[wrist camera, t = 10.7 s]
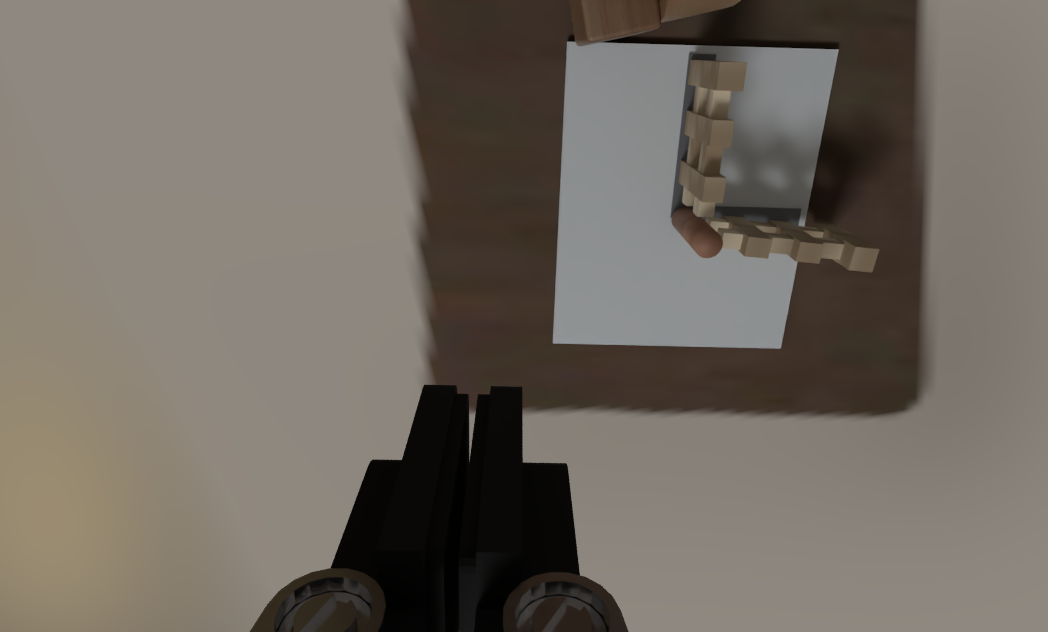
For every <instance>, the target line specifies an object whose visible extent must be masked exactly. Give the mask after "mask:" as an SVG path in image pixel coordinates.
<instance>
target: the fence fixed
mask: <svg viewBox="0 0 1048 632" xmlns="http://www.w3.org/2000/svg"><path fill="white" fill-rule="evenodd" d="M746 68H747V62H730V61H712V60H691V61H690V70H689V78H688V85H693V86H696V88H695V97H694V105H693V111H687V112H686V121H685V129H684V134H685V135H687V136H689V137H690V139H689V147H688V155H687V160H681V164H680V172H679V181H678V182H679V183H680V184H681V185H682V186H683V187H684V189H683V197H682V203H684V204H685V205H686V206H693V213H694V214H695V215H696V216H697V217H714V211H715V203H723V198H724V191H725V184H726V177H724V176H723V175H721V174H720V167H721V160H722V153H723V147H730V148H731V142H732V135H733V128H734V120H731V119H728V118H727V117H728V110H729V103H730V96H731V91H743V89H744V82H745V75H746Z"/></svg>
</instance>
